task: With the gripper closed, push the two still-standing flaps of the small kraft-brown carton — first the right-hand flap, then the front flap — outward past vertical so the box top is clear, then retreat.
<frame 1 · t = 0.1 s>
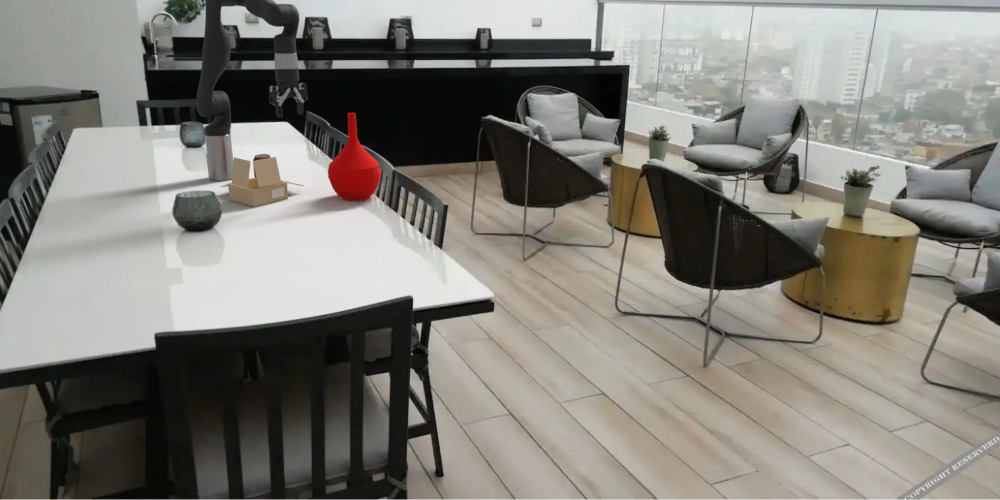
hand: (290, 115, 251), 29 cm above the table, fingers open, 8 cm apart
vase: (355, 197, 263), on the table
front flap: (267, 172, 251), point 11 cm above the table, hinge at 78.0°
beverage can: (265, 187, 274), on the table
right flap: (240, 172, 249), point 11 cm above the table, hinge at 78.0°
carton: (259, 199, 258), on the table
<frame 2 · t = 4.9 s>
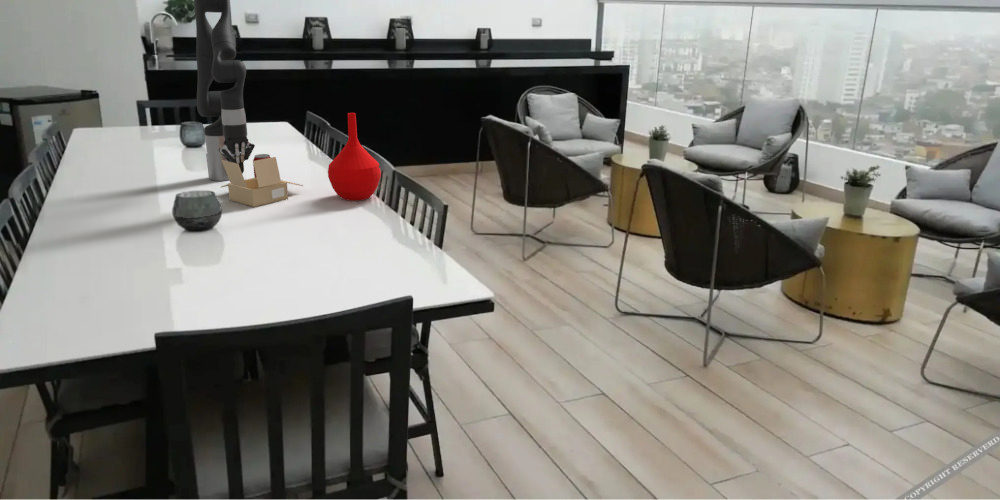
hand: (239, 173, 249), 11 cm above the table, fingers closed
right flap: (234, 174, 248), point 11 cm above the table, hinge at 107.0°, touching gripper
everything else where it was.
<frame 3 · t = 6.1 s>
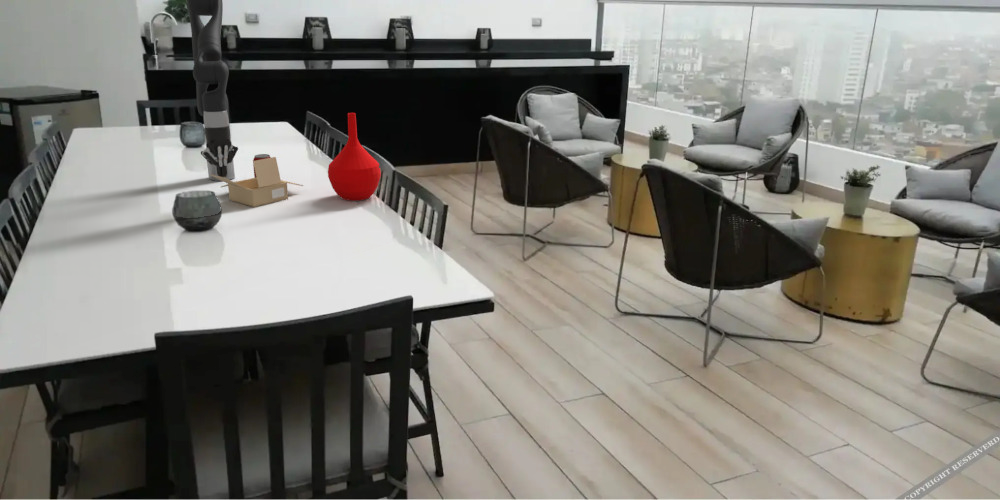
hand: (222, 176, 244), 11 cm above the table, fingers closed
right flap: (228, 181, 246), point 9 cm above the table, hinge at 146.7°
everything else where it was.
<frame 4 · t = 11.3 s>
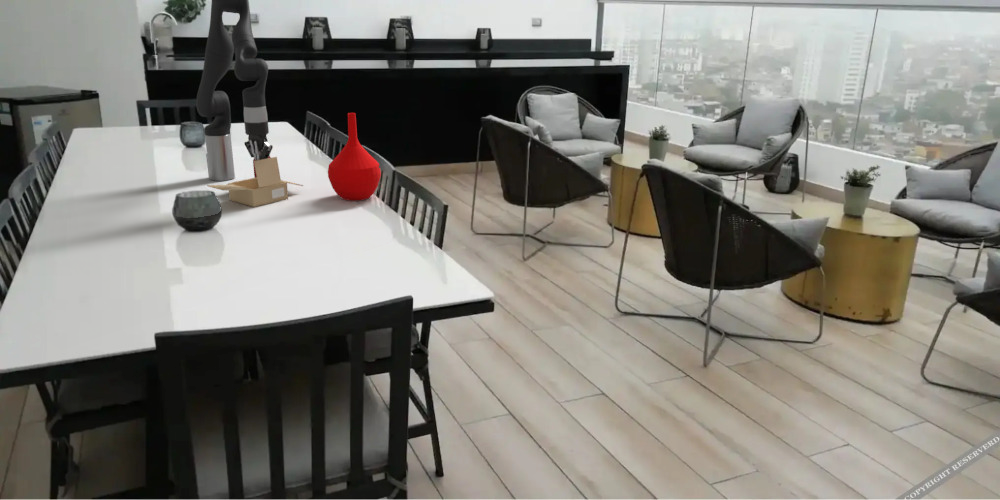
hand: (260, 170, 252), 11 cm above the table, fingers closed
front flap: (267, 172, 250), point 11 cm above the table, hinge at 81.2°, touching gripper
right flap: (227, 187, 246), point 7 cm above the table, hinge at 170.4°
everything else where it was.
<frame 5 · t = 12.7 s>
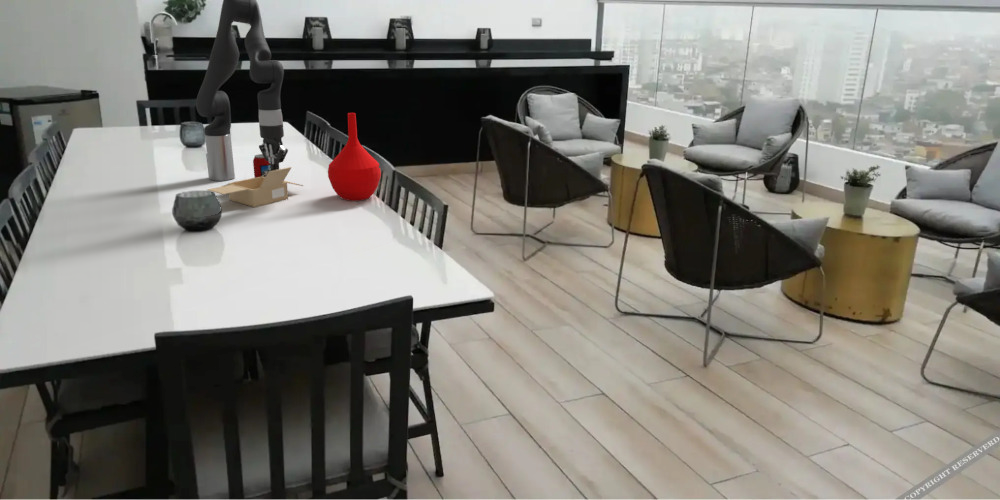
hand: (275, 174, 248), 11 cm above the table, fingers closed
front flap: (275, 177, 249), point 10 cm above the table, hinge at 132.5°, touching gripper
right flap: (227, 189, 247), point 6 cm above the table, hinge at 178.9°
everything else where it was.
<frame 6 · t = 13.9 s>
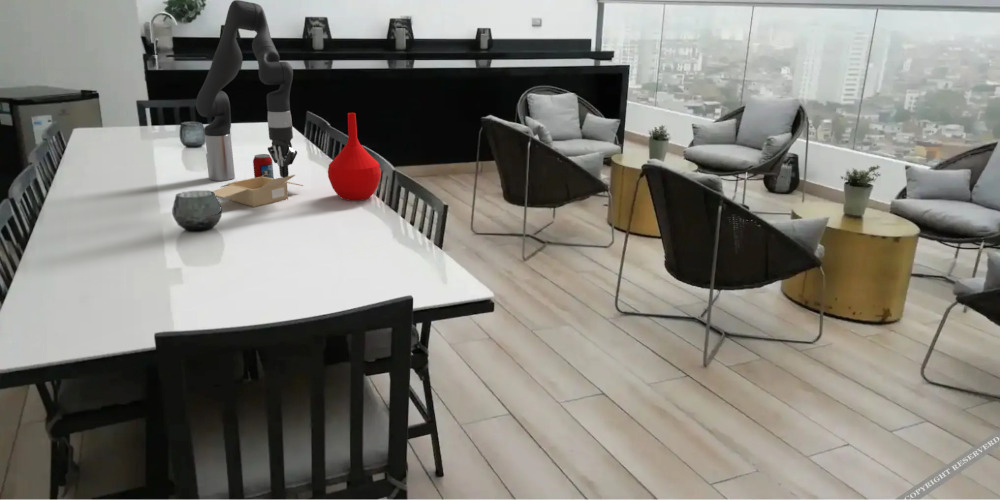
hand: (284, 176, 245), 11 cm above the table, fingers closed
front flap: (277, 181, 248), point 8 cm above the table, hinge at 150.9°
right flap: (227, 191, 247), point 5 cm above the table, hinge at 186.2°
everything else where it was.
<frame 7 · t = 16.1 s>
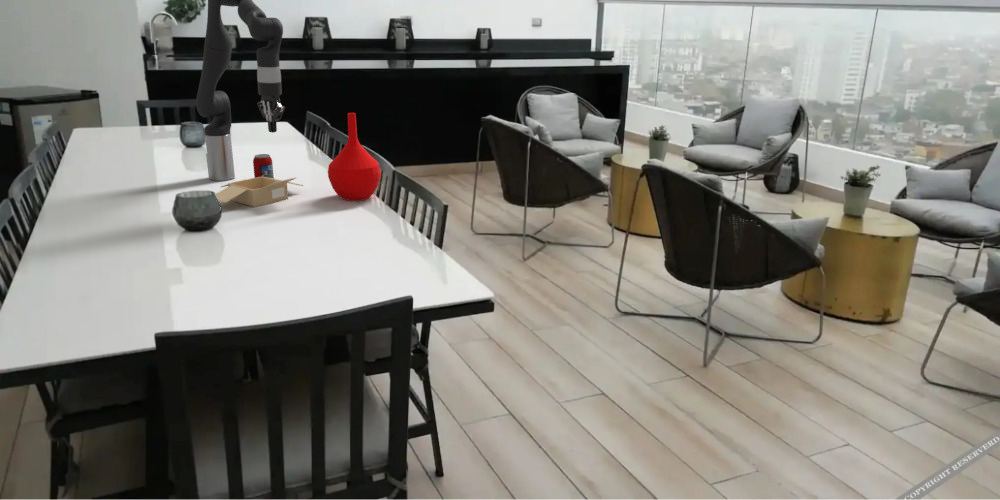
hand: (272, 131, 251), 24 cm above the table, fingers closed
front flap: (278, 183, 248), point 8 cm above the table, hinge at 157.2°
right flap: (228, 193, 247), point 4 cm above the table, hinge at 197.3°
everything else where it was.
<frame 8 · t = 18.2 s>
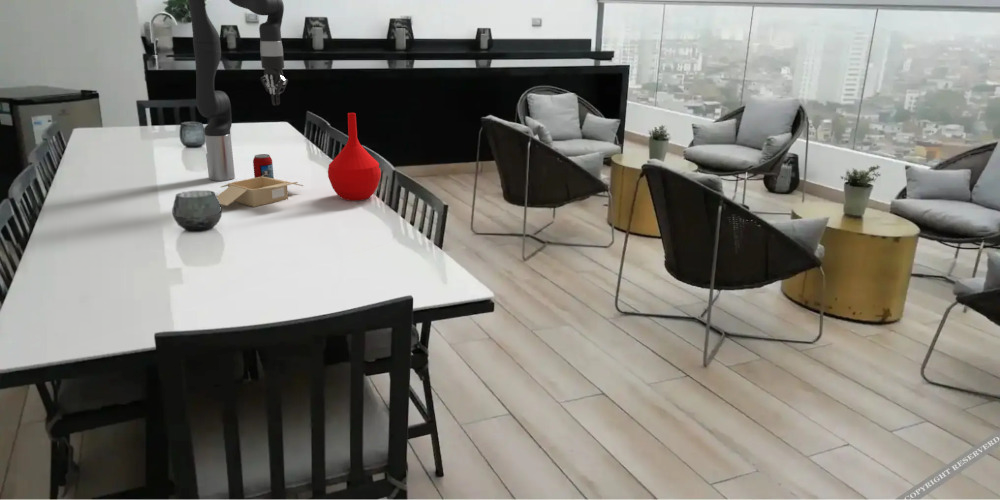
hand: (276, 104, 261), 31 cm above the table, fingers closed
front flap: (278, 185, 249), point 7 cm above the table, hinge at 166.9°
right flap: (229, 195, 248), point 4 cm above the table, hinge at 204.2°
everything else where it was.
at the end: right flap at +204° (first picture: +78°); front flap at +167° (first picture: +78°) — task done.
